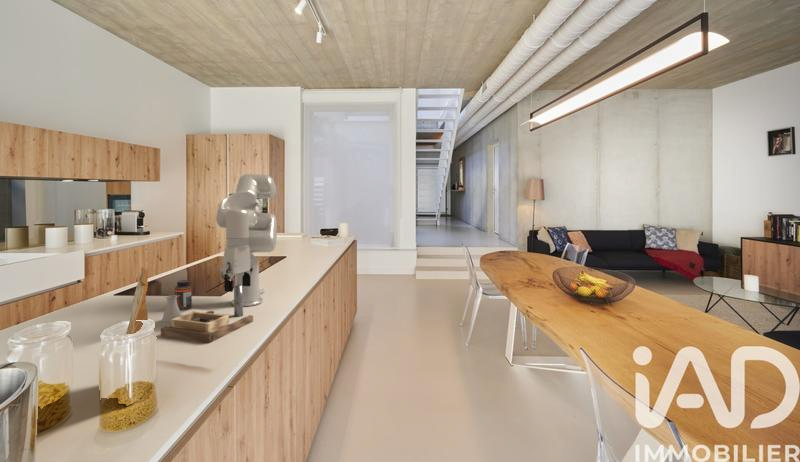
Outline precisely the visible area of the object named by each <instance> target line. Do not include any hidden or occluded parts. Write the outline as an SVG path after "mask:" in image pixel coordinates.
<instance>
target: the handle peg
mask: <svg viewBox="0 0 800 462" xmlns="http://www.w3.org/2000/svg"><path fill="white" fill-rule="evenodd" d="M233 300H234V305H233V308H234V309H233V310H234V311H233V316H234V317H235V318H239V317H243V316H244V306H243V285H235V284H233Z"/></svg>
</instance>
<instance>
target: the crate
mask: <svg viewBox="0 0 800 462" xmlns="http://www.w3.org/2000/svg"><path fill="white" fill-rule="evenodd" d="M229 317H230V315H226V314H219V313H214V314H211V313H206V312H201V311H194V310H193V311H191V312H188V313H186V314H183V315H182V316H180V317H177V318H174V319H171V322H170V323H171V325H170V326H172V327H175V328H182V329H190V330H197V331H205V332H214V331H216V330H219V329H221V328H223V327H225V326H227V325H229V321H230V320H229Z"/></svg>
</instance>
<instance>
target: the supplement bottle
mask: <svg viewBox="0 0 800 462" xmlns="http://www.w3.org/2000/svg"><path fill="white" fill-rule="evenodd" d="M174 295H176V296H178V297H177V305H178V308H179V310H180V311H184V310H189V309H190V308H192V306H193V305H192V297H193V296H192V286H191V285H190V282H189V280H188V279H181V280H178V281H177V282H176V286H175V287H174Z"/></svg>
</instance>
